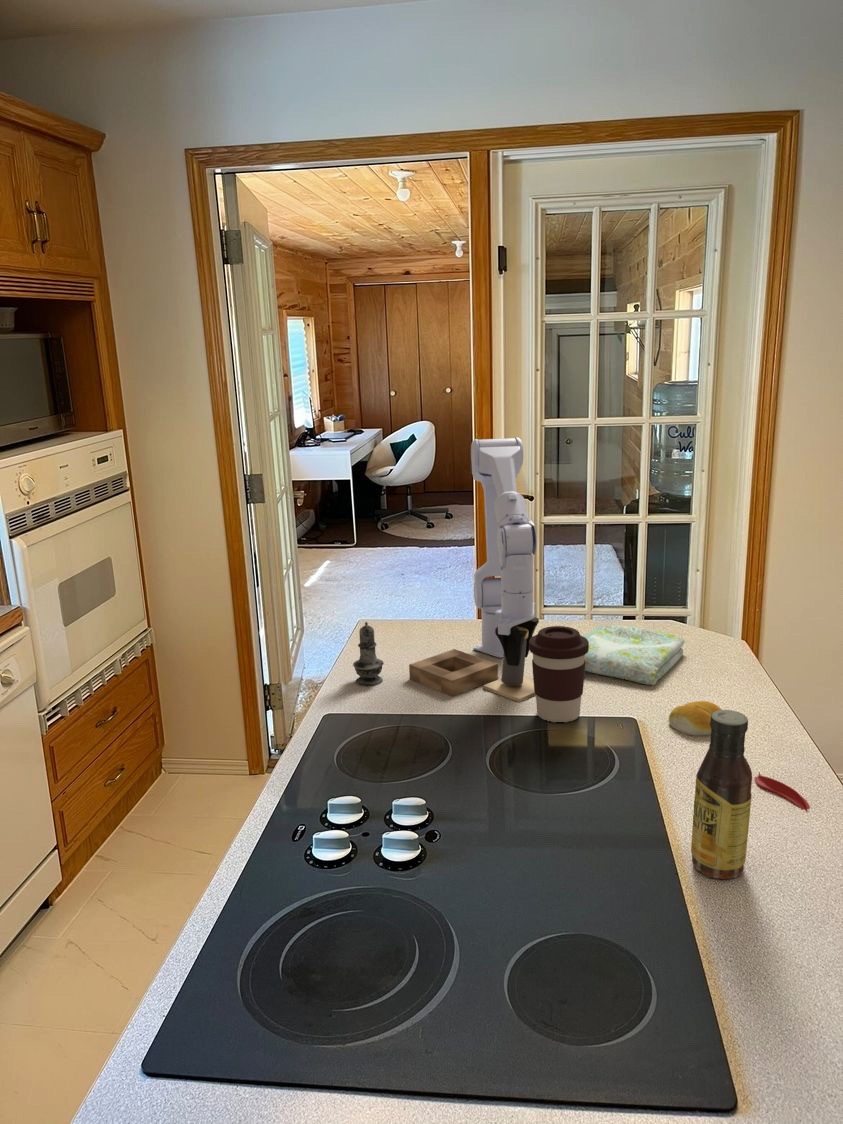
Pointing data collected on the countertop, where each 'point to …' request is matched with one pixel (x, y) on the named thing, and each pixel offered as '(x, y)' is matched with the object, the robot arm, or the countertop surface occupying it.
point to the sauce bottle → (722, 799)
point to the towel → (632, 653)
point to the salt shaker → (368, 659)
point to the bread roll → (693, 718)
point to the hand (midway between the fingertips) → (517, 660)
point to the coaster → (513, 689)
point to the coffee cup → (558, 672)
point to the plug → (515, 667)
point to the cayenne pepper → (782, 791)
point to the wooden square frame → (443, 679)
